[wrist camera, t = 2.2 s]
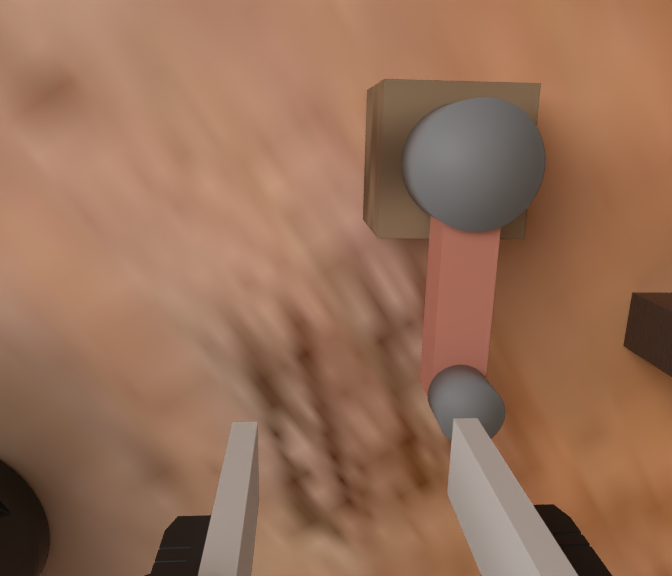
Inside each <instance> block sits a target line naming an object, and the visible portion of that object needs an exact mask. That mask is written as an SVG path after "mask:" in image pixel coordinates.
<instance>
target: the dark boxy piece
mask: <svg viewBox="0 0 672 576" xmlns="http://www.w3.org/2000/svg"><path fill="white" fill-rule="evenodd" d="M624 346H625V347H626V348H628V349H629V350H631V351H632V352H634V353H635V354H637V355H639V356H640V357H642V358H643V359H645V360H646V361H648V362H649V363H651V364H653V365H654V366H656V367H657V368H659V369H660V370H662V371H663V372H665V373H667V374H668V375H670V376H671V377H672V293H632V299H631V305H630V311H629V317H628V323H627V329H626V335H625V341H624Z"/></svg>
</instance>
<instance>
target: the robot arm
mask: <svg viewBox="0 0 672 576" xmlns="http://www.w3.org/2000/svg"><path fill="white" fill-rule="evenodd" d="M447 495H448V497H449V499H450V502H451V504H452V507H453V509H454V511H455V514H456V516H457V518H458V521H459V523H460V526H461V528H462V530H463V533H464V535H465V538H466V540H467V542H468V545H469V547H470V549H471V552H472V554H473V557H474V559H475V561H476V564H477V566H478V568H479V571H480V573H481V576H612V575H611V573H610V572H609V571H608V569H607V568H606V566H605V565H604V564H603V562H602V561H601V559H600V558H599V557H598V555H597V554H596V553H595V551H594V550H593V548H592V547H590V546H589V543H588V541H587V540H586V539H585V537H584V536H583V535H581V532H580V530H579V529H578V527H577V526H576V525H575V523H574V522H573V520H572V519H571V518H570V517H569V516H568V515H567V514H565V513H564V512H563V511H561V510H560V509H559V508H557V507H556V506H555V505H553V504H550V505H533V504H532V503H531V501H530V500H529V498H528V496H527V495H526V493H525V492H524V490H523V489H522V487H521V486H520V484H519V482H518V481H517V479H516V478H515V476H514V475H513V473H512V471H511V470H510V468H509V467H508V465H507V464H506V462H505V461H504V459H503V457H502V456H501V454H500V453H499V451H498V450H497V448H496V446H495V445H494V443H493V442H492V440H491V439H490V437H489V436H488V434H487V432H486V431H485V429H484V428H483V426H482V425H481V423H480V421H479V420H478V418H454V419H453V431H452V444H451V456H450V468H449V480H448V492H447ZM258 505H259V471H258V422H232V426H231V430H230V435H229V439H228V444H227V448H226V453H225V457H224V461H223V466H222V470H221V475H220V479H219V484H218V488H217V493H216V497H215V501H214V506H213V510H212V515H208V516H178V517H177V518H176V519H175V520H174V521H173V522H172V524H171V525H170V526H169V527H168V528H167V529H166V530H165V532H164V535H163V538H162V541H161V544H160V549H159V550H158V553H157V556H156V559H155V563H154V565H153V568H152V571H151V574H148V575H145V576H251V572H252V562H253V553H254V543H255V534H256V524H257V514H258ZM48 551H49V528H48V523H47V519H46V516H45V513H44V510H43V508H42V506H41V504H40V502H39V500H38V499H37V497H36V495H35V494H34V492H33V491H32V490H31V488H30V487H29V486H28V485H27V484H26V483H25V481H24V480H23V479H22V478H21V477H20V476H19V475H17V474H16V473H15V472H14V471H13V470H12V469H10V468H9V467H8V466H6V465H5V464H3V463H2V462H0V576H39V575H40V573H41V571H42V569H43V567H44V565H45V562H46V559H47V556H48Z"/></svg>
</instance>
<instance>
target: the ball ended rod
mask: <svg viewBox="0 0 672 576" xmlns="http://www.w3.org/2000/svg"><path fill="white" fill-rule="evenodd" d="M401 167H402V177H403V181H404V184H405V187H406V189H407V192H408V193H409V195H410V197H411V198H412V200H413V201H414V202H415V203H416V205H418V206H419V207H420V208H421V209H422V210H423V211H425V212H426V213H428V214H429V215H431V219H430V235H429V250H428V266H427V281H426V297H425V312H424V328H423V343H422V359H421V375H420V382H421V384H422V386H423V388H424V390H425V392H426V394H427V396H428V402H429V405H430V407H431V409H432V411H433V413H434V415H435V417H436V419H437V422H438V424H439V426H440V428H441V430H442V432H443V433H444V435H445V436H446V437H447V438H448V439H449V440H451V441H452V431H453V419H454V418H478V420H479V421H480V423H481V425H482V426H483V428H484V429H485V431H486V432H487V434H488V436H489V437H490V439H491V438H492V437H493V436H494V435H495V434H496V433H497V432H498V431H499V430H500V428H501V426H502V424H503V422H504V418H505V406H504V403H503V401H502V399H501V397H500V396H499V395H498V393H497V392H496V391H495V389H494V388H493V387H492V386H491V384H490V383H489V382H488V380H487V379H486V373H487V363H488V353H489V343H490V332H491V322H492V312H493V302H494V292H495V282H496V271H497V261H498V251H499V241H500V231H501V227H502V226H504V225H506V224H508V223H510V222H511V221H513V220H514V219H516V218H517V217H518V216H519V215H521V214H522V213H523V212H524V211H525V210H526V208H527V207H528V206H529V205H530V203H531V202H532V201H533V199H534V198H535V196H536V194H537V192H538V190H539V188H540V185H541V182H542V179H543V175H544V170H545V149H544V145H543V141H542V138H541V135H540V132H539V130H538V128H537V127H536V125H535V124H534V122H533V121H532V119H531V118H530V117H529V116H528V115H527V114H526V113H525V112H524V111H523V110H521V109H520V108H519V107H517V106H516V105H514V104H512V103H510V102H507V101H505V100H502V99H498V98H491V97H478V98H473V99H467V100H463V101H458V102H453V103H449V104H446V105H443V106H440V107H438V108H436V109H434V110H432V111H431V112H429V113H428V114H426V115H425V116H424V117H423V118H422V119H421V120H420V121H419V122H418V123H417V124H416V125H415V127H414V128H413V129H412V131H411V132H410V134H409V136H408V138H407V140H406V143H405V146H404V149H403V154H402V162H401Z"/></svg>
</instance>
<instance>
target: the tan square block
mask: <svg viewBox="0 0 672 576" xmlns="http://www.w3.org/2000/svg"><path fill="white" fill-rule="evenodd" d="M540 88H541V83H512V82H475V81H439V80H403V79H384V80H382V81H381V82H379V83H378V84H376V85H374V86H373V87H371V88H370V89H368V90H367V112H366V143H365V174H364V205H363V220H364V221H365V222H366V224H367V225H368V226H369V227H370V229H371V230H372V231H373V232H374V234H375V235H376V236H377V238H405V239H429V235H430V219H431V215H429V214H428V213H426V212H425V211H423V210H422V209H421V208H420V207H419V206H418V205H416V203H415V202H414V201H413V200H412V198H411V197H410V195H409V193H408V192H407V189H406V187H405V184H404V181H403V177H402V167H401V162H402V154H403V149H404V146H405V143H406V140H407V138H408V136H409V134H410V132H411V131H412V129H413V128H414V127H415V125H416V124H417V123H418V122H419V121H420V120H421V119H422V118H423V117H424V116H425V115H426V114H428V113H429V112H431V111H432V110H434V109H436V108H438V107H440V106H443V105H446V104H449V103H453V102H458V101H463V100H467V99H473V98H478V97H491V98H498V99H502V100H505V101H507V102H510V103H512V104H514V105H516V106H517V107H519V108H520V109H521V110H523V111H524V112H525V113H526V114H527V115H528V116H529V117H530V118H531V119H532V121H533V122H534V124H535V125H537V116H538V107H539V97H540ZM526 216H527V208H526V210H525V211H524V212H523V213H522V214H521V215H519V216H518V217H517V218H516V219H514V220H513V221H511V222H510V223H508V224H506V225H504V226H502V227H501V231H500V239H524V234H525V225H526Z"/></svg>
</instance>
